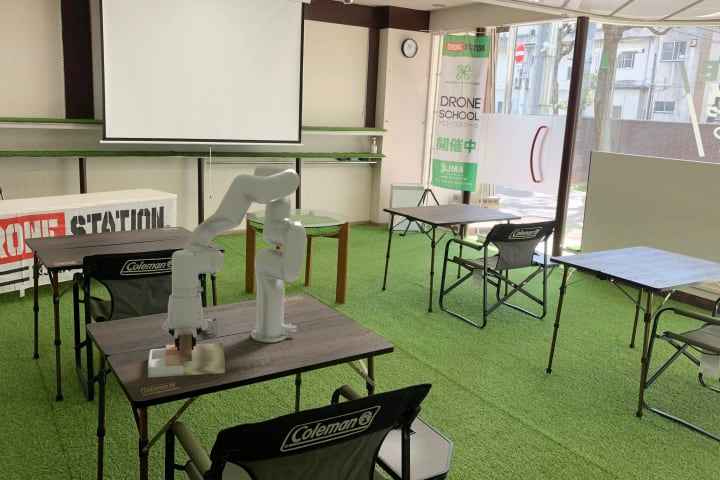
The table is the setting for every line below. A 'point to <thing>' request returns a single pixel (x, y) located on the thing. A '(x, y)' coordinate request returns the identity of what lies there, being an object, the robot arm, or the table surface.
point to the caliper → (212, 325)
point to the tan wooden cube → (172, 360)
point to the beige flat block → (206, 360)
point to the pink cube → (172, 350)
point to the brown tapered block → (185, 345)
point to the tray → (162, 365)
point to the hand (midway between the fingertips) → (185, 348)
